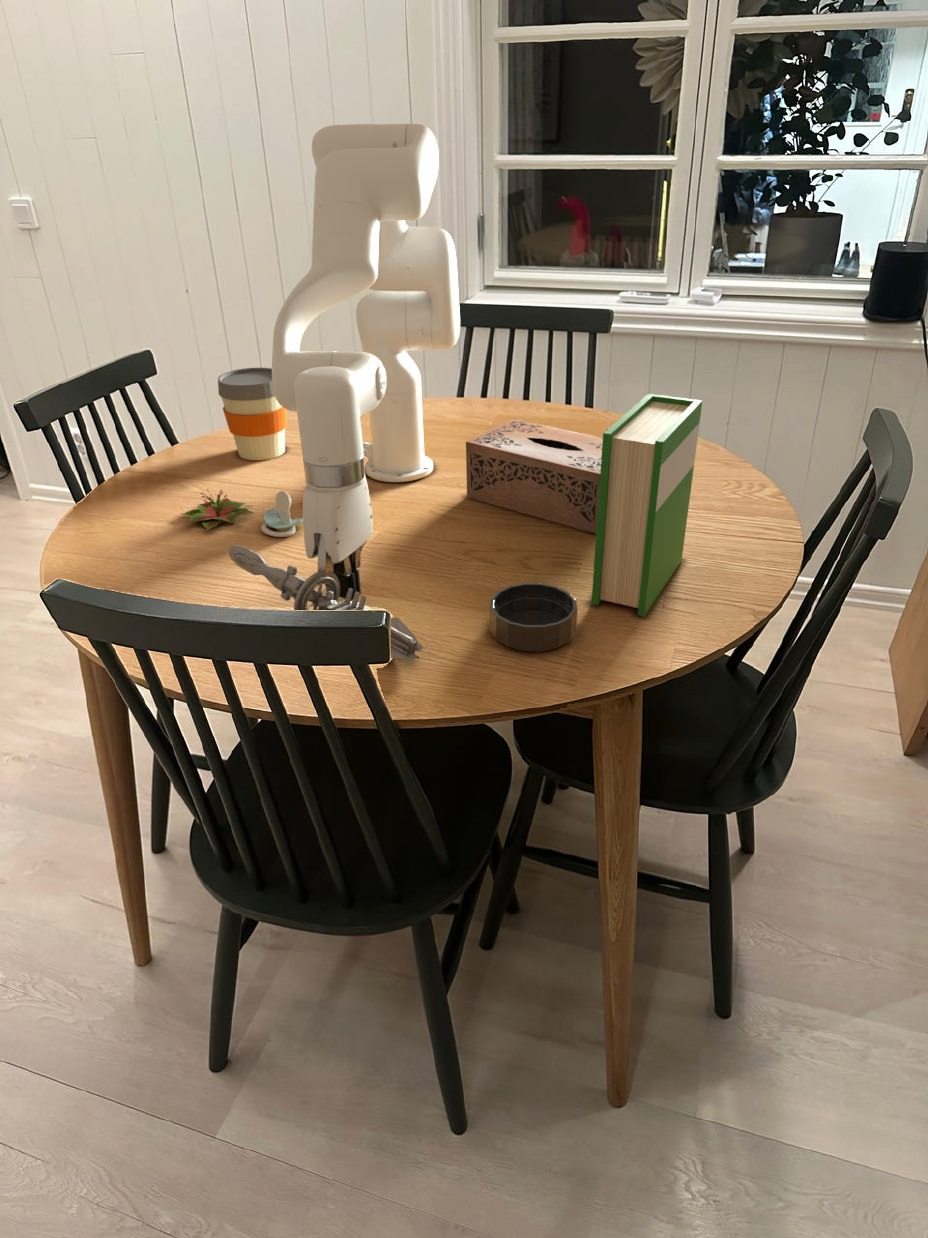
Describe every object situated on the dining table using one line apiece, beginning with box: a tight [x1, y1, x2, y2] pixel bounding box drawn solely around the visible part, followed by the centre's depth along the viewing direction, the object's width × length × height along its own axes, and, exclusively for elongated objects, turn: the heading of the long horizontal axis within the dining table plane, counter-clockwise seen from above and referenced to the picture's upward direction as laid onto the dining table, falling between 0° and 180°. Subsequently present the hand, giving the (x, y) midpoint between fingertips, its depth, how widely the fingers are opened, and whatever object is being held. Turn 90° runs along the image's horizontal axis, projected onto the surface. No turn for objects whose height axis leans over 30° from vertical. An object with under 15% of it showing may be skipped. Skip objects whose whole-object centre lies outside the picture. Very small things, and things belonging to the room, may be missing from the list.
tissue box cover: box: [465, 418, 603, 535], centre depth 142 cm, size 26×14×10 cm, turn 53°
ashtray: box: [489, 582, 578, 653], centre depth 108 cm, size 11×11×4 cm
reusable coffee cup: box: [217, 367, 288, 461], centre depth 163 cm, size 13×13×15 cm
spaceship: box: [227, 544, 424, 662], centre depth 109 cm, size 8×35×8 cm
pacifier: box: [260, 490, 303, 538], centre depth 135 cm, size 7×6×6 cm
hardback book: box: [591, 393, 703, 617], centre depth 113 cm, size 18×7×24 cm, turn 152°
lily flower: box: [181, 488, 256, 531], centre depth 140 cm, size 12×12×5 cm
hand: (348, 595), depth 116 cm, fingers closed
